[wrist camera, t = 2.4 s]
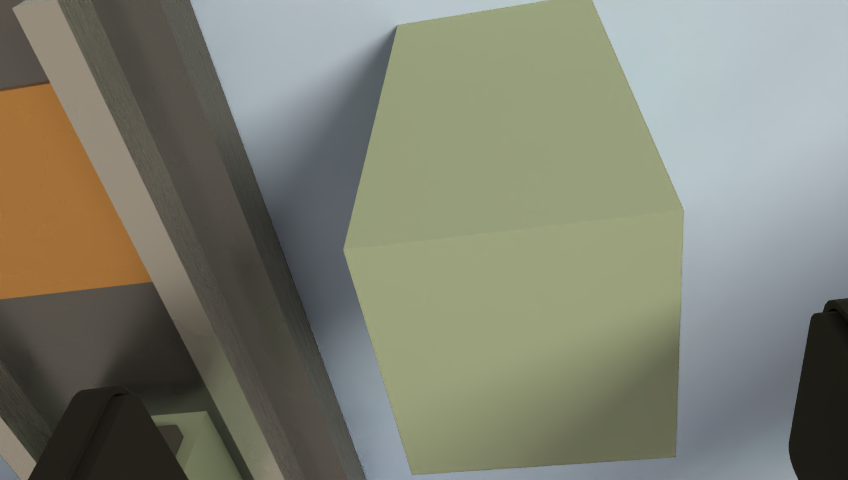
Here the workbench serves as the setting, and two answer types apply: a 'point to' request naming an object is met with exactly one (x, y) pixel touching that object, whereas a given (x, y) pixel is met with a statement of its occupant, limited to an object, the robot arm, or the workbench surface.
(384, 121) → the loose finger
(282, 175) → the workbench surface
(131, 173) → the dark grey tray
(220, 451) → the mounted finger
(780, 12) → the workbench surface
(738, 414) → the workbench surface
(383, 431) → the workbench surface
